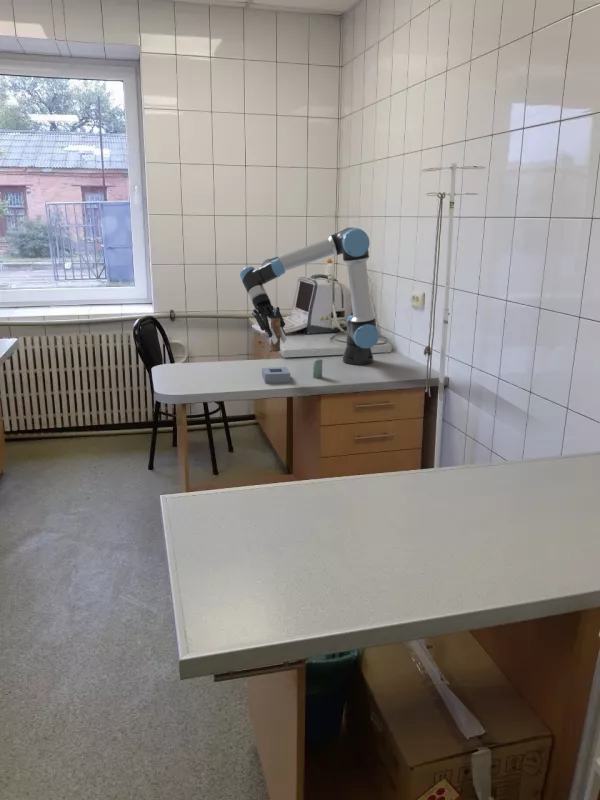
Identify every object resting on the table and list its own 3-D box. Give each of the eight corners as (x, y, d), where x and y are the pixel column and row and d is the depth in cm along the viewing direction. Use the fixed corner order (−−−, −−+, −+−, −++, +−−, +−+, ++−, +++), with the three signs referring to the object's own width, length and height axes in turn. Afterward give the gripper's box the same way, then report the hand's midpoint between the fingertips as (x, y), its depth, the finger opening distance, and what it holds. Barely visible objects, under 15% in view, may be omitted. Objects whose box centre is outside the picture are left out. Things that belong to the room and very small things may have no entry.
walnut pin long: (279, 349, 273) (279, 317, 268) (280, 351, 269) (280, 319, 265) (270, 349, 272) (270, 318, 268) (271, 351, 268) (271, 319, 264)
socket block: (286, 375, 280) (286, 366, 279) (290, 382, 270) (290, 373, 269) (262, 376, 278) (262, 367, 277) (265, 383, 268) (265, 374, 267)
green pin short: (321, 375, 280) (321, 358, 278) (322, 378, 277) (323, 360, 274) (312, 376, 280) (312, 358, 277) (314, 378, 276) (314, 361, 273)
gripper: (272, 301, 281) (293, 344, 274) (240, 305, 272) (260, 348, 264) (278, 291, 276) (300, 334, 268) (246, 294, 266) (267, 338, 258)
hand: (280, 341), depth 266 cm, fingers closed on walnut pin long, 4 cm apart
